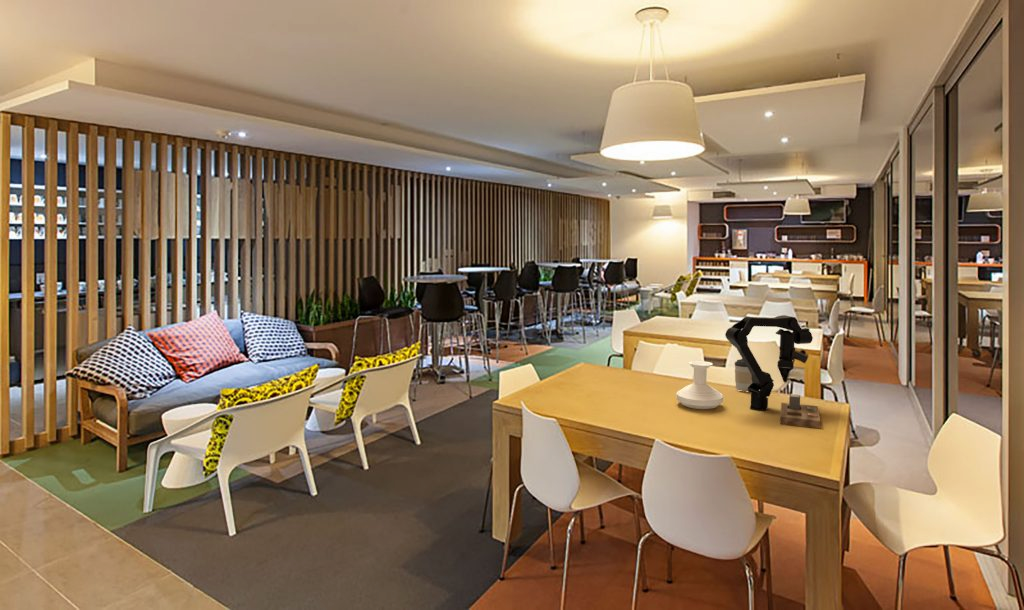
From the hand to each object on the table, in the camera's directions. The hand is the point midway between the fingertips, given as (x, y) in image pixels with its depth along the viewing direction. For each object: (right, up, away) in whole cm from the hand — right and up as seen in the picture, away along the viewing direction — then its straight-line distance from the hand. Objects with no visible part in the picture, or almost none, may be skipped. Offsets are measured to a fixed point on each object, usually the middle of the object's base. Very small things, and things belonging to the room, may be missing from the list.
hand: (785, 379), depth 259 cm
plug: (-1, -13, -11) cm, 17 cm away
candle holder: (-37, -12, +4) cm, 39 cm away
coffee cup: (-7, -9, +29) cm, 32 cm away
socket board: (-2, -14, -16) cm, 21 cm away
